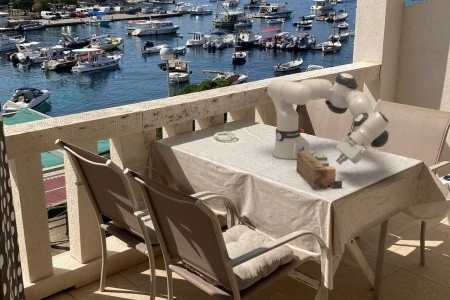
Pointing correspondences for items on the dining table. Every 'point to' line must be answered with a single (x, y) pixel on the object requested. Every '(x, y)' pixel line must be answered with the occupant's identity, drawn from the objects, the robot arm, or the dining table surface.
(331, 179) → the terracotta key
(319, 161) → the slate key
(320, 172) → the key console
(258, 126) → the dining table surface
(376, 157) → the dining table surface
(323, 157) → the olive key
